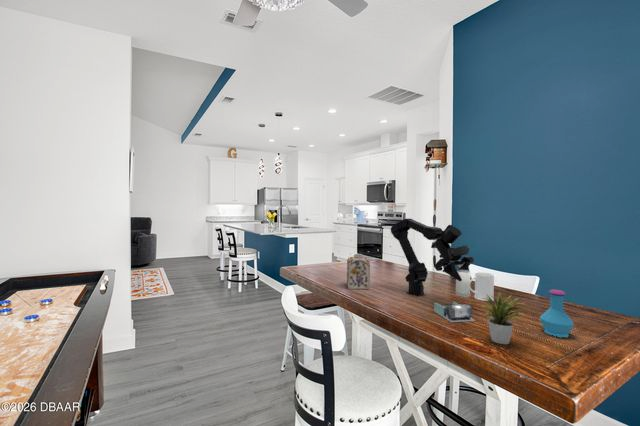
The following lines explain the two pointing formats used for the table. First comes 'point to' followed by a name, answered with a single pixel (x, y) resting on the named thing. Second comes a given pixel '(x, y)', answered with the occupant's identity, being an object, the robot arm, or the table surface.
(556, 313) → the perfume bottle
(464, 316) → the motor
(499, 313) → the house plant
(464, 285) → the white cylinder
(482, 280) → the mug
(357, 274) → the decorative jar
